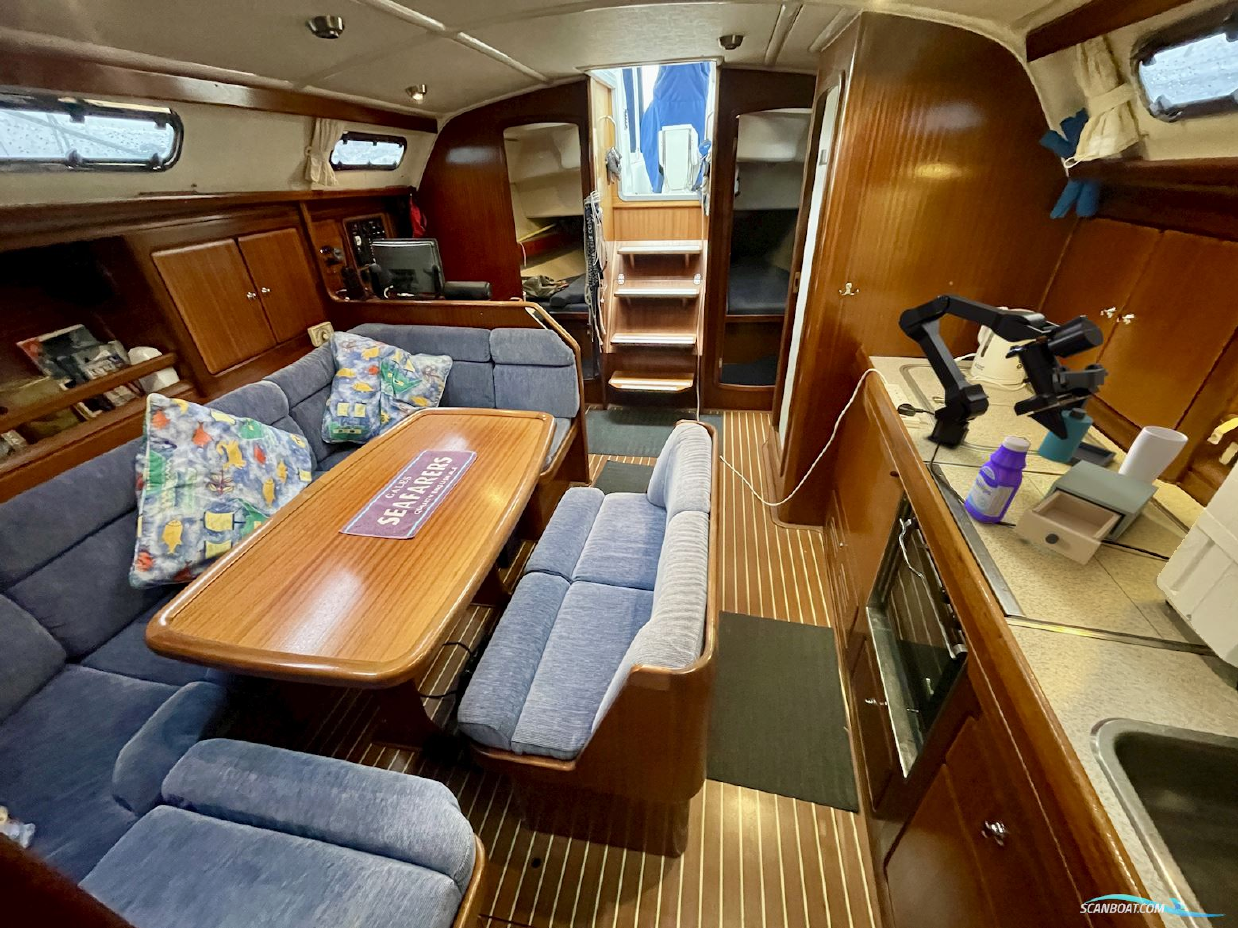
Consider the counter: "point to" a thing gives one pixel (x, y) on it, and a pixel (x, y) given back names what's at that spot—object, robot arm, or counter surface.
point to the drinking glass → (1152, 453)
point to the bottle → (998, 481)
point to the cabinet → (1106, 492)
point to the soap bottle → (1076, 430)
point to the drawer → (1067, 525)
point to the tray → (1092, 455)
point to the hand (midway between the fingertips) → (1073, 436)
